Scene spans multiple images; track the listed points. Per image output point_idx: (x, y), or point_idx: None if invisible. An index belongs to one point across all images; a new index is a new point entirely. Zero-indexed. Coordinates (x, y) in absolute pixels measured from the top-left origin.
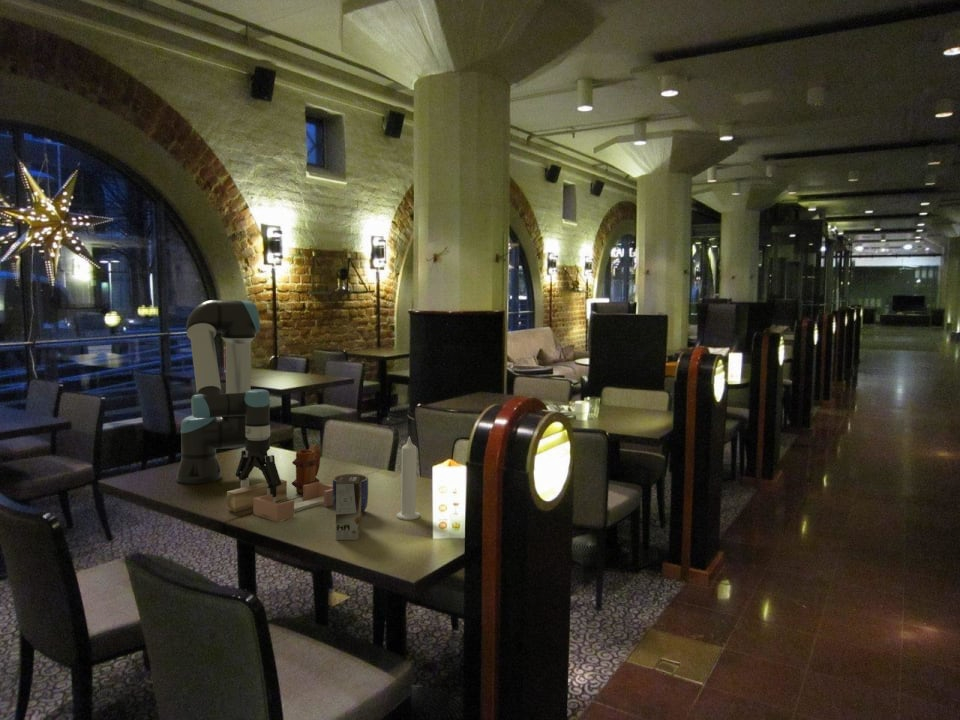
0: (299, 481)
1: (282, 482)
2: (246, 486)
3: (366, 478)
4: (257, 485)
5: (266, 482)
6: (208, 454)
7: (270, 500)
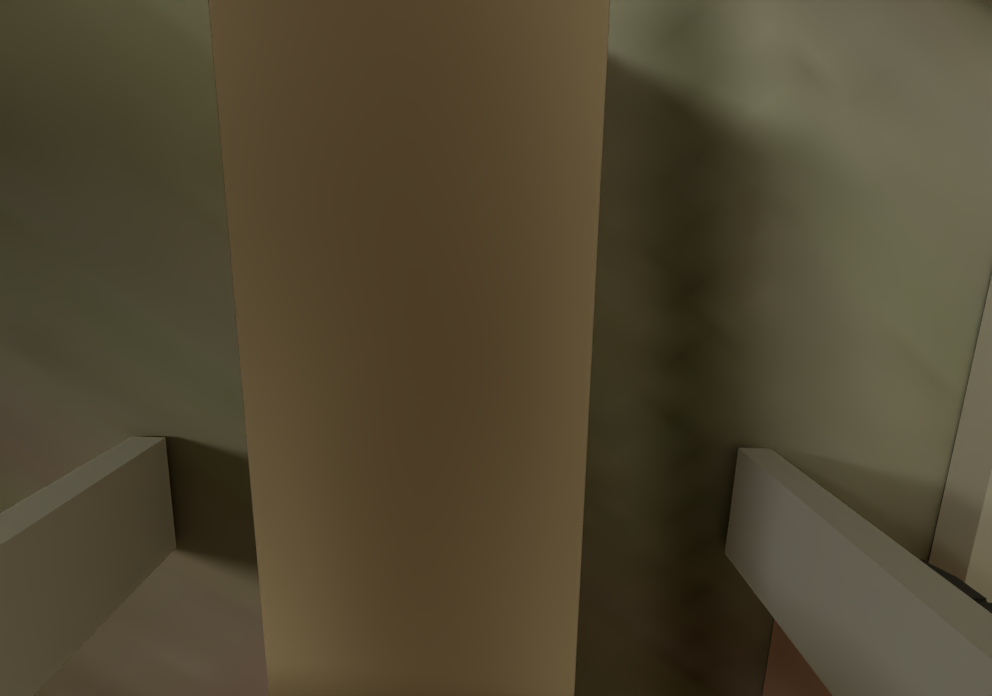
0: None
1: (606, 8)
2: (14, 609)
3: None
4: (377, 671)
5: (298, 362)
6: None
7: None
